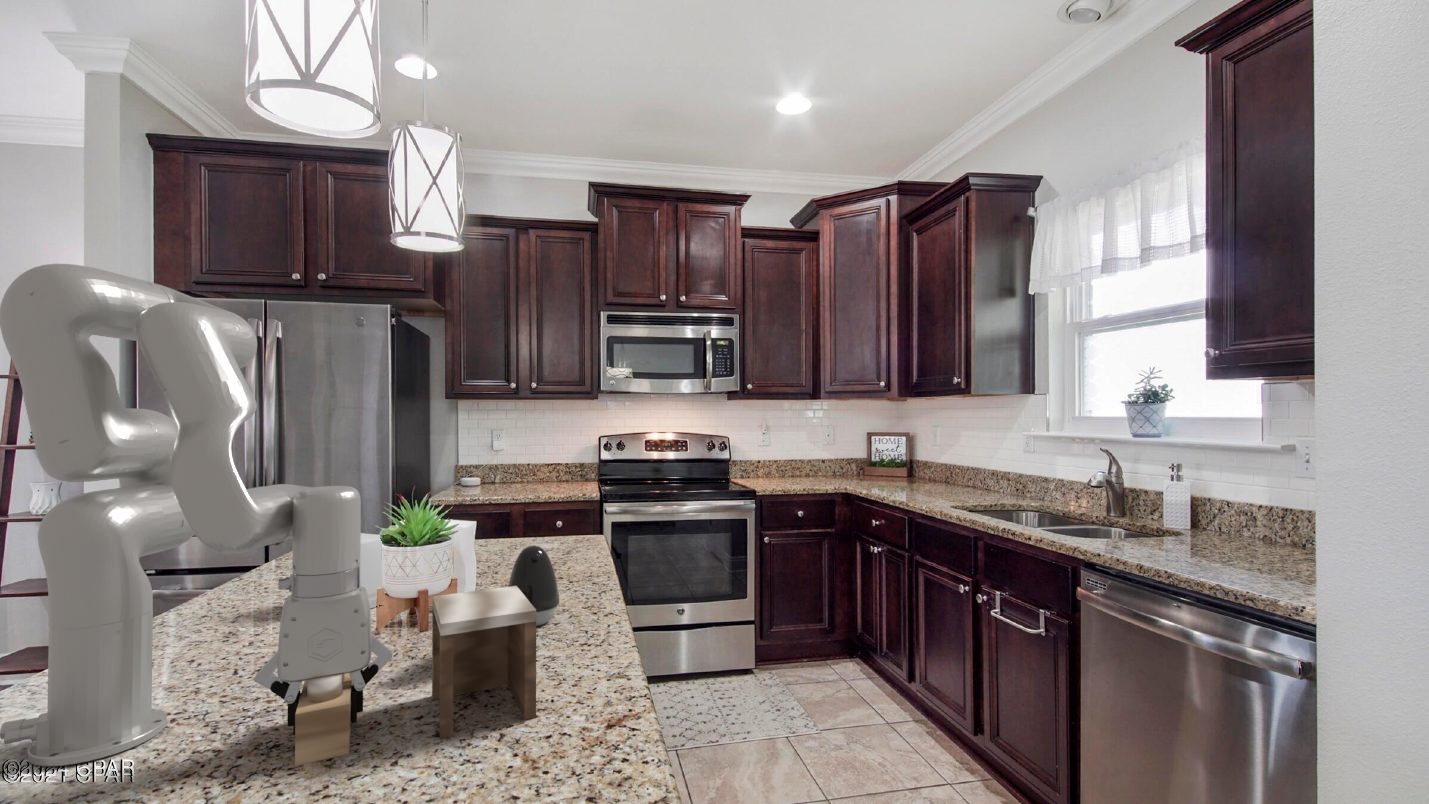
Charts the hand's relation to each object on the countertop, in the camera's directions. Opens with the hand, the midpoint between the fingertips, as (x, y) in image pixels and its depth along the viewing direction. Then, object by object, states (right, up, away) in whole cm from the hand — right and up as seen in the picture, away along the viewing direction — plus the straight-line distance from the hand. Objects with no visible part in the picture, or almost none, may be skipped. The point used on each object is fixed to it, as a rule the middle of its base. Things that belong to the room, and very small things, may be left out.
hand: (326, 722), depth 81 cm
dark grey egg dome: (+14, -3, +44) cm, 46 cm away
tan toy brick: (0, -2, 0) cm, 2 cm away
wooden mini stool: (+17, -2, +8) cm, 19 cm away
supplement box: (-27, -3, +55) cm, 61 cm away
